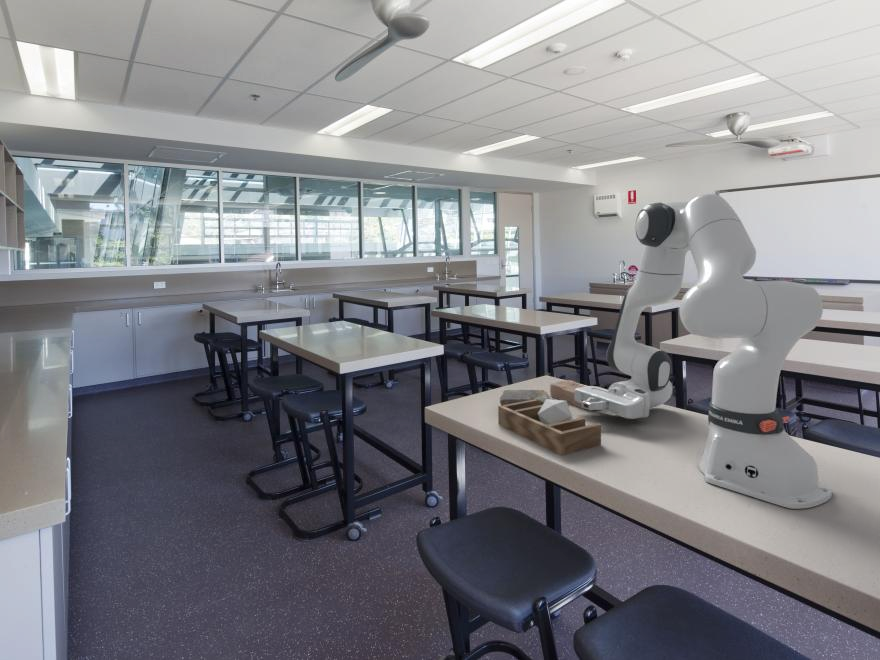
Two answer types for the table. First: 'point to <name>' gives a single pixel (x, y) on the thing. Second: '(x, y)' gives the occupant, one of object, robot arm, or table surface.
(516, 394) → the geological specimen
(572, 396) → the brick
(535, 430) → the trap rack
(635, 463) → the table surface
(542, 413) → the die
